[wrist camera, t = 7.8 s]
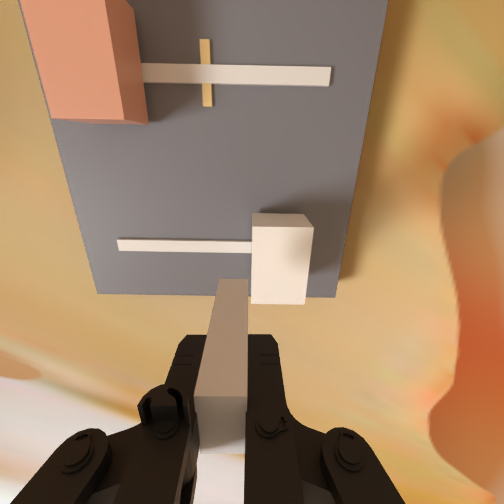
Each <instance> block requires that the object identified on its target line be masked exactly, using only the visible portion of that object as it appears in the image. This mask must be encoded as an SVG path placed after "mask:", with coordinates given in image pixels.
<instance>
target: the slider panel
mask: <svg viewBox="0 0 504 504" xmlns="http://www.w3.org/2000/svg"><path fill="white" fill-rule="evenodd" d="M126 1H127V2H128V4H129V5H130V6H131V7H132V8H133V9H134V15H135V22H136V30H137V38H138V45H139V53H140V60H141V68H142V76H143V83H144V91H145V98H146V106H147V113H148V121H149V125H132V124H89V123H82V122H75V121H68V120H60V119H53V118H51V115H50V111H49V107H48V103H47V100H46V96H45V92H44V89H43V85H42V81H41V77H40V74H39V70H38V66H37V63H36V59H35V55H34V51H33V48H32V44H31V40H30V37H29V33H28V29H27V25H26V22H25V18H24V14H23V11H22V7H21V3H20V0H18V2H19V6H20V10H21V13H22V17H23V21H24V24H25V28H26V32H27V35H28V39H29V43H30V46H31V50H32V54H33V57H34V61H35V65H36V69H37V72H38V76H39V80H40V83H41V87H42V91H43V94H44V98H45V102H46V105H47V109H48V113H49V116H50V120H51V124H52V128H53V131H54V135H55V139H56V142H57V146H58V150H59V153H60V157H61V161H62V164H63V168H64V172H65V175H66V179H67V183H68V187H69V190H70V194H71V198H72V201H73V205H74V209H75V212H76V216H77V220H78V223H79V227H80V231H81V234H82V238H83V242H84V246H85V249H86V253H87V257H88V260H89V264H90V268H91V271H92V275H93V279H94V282H95V286H96V290H97V293H98V294H137V295H200V296H216V293H217V288H218V284H219V279H248V296H251V265H252V213H279V214H304V215H305V216H306V218H307V219H308V220H309V222H310V223H311V224H312V226H313V227H314V232H313V240H312V248H311V256H310V264H309V272H308V281H307V289H306V297H326V298H335V295H336V290H337V284H338V279H339V273H340V268H341V262H342V256H343V251H344V245H345V240H346V234H347V229H348V223H349V217H350V212H351V206H352V201H353V195H354V190H355V184H356V178H357V173H358V167H359V162H360V156H361V151H362V145H363V139H364V134H365V128H366V123H367V117H368V111H369V106H370V100H371V95H372V89H373V84H374V78H375V72H376V67H377V61H378V56H379V50H380V45H381V39H382V33H383V28H384V22H385V17H386V11H387V6H388V0H126Z"/></svg>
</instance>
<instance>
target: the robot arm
mask: <svg viewBox="0 0 504 504" xmlns="http://www.w3.org/2000/svg"><path fill="white" fill-rule="evenodd" d="M137 407H138V411H139V415H140V418H141V423H140V424H138V425H136V426H134V427H132V428H130V429H127V430H124V431H121V432H118V433H114V434H111V435H108V436H106V433H105V432H103V431H102V430H100V429H94V428H89V429H86V430H83V431H79V432H77V433H76V434H74V435H73V436H71V437H69V438H68V439H66V440H65V441H64V442H63V443H62V444H61V445H60V446H59V447H58V448H57V449H56V450H55V451H54V453H53V454H52V455H51V456H50V457H49V458H48V460H47V461H46V462H45V463H44V464H43V466H42V467H41V468H40V469H39V470H38V471H37V473H36V474H35V475H34V476H33V477H32V478H31V480H30V481H29V482H28V483H27V484H26V486H25V487H24V488H23V489H22V490H21V491H20V493H19V494H18V495H17V496H16V497H15V498H14V500H13V501H12V502H11V503H10V504H193V500H194V493H195V487H196V480H197V465H196V464H197V457H198V451H199V449H200V454H245V477H244V504H405V502H404V501H403V499H402V497H401V496H400V494H399V492H398V491H397V489H396V488H395V486H394V484H393V483H392V481H391V479H390V478H389V476H388V475H387V473H386V471H385V470H384V468H383V466H382V465H381V463H380V461H379V460H378V458H377V457H376V455H375V453H374V452H373V450H372V448H371V447H370V446H369V445H368V443H367V442H366V441H365V440H364V438H363V437H361V436H360V435H359V434H357V433H356V432H354V431H353V430H350V429H347V428H344V427H341V428H333V429H331V430H330V431H328V432H327V433H326V434H325V433H322V432H319V431H317V430H314V429H311V428H308V427H306V426H304V425H302V424H301V423H300V422H298V421H297V420H296V419H295V418H294V417H293V416H292V415H291V413H290V411H289V409H288V407H287V404H286V399H285V392H284V385H283V378H282V371H281V365H280V357H279V350H278V343H277V342H276V341H275V339H274V338H273V336H272V335H271V334H248V279H219V284H218V288H217V293H216V297H215V302H214V306H213V311H212V315H211V320H210V324H209V329H208V333H207V335H186V336H185V338H184V339H183V340H182V341H181V342H180V343H179V345H178V348H177V350H176V353H175V357H174V359H173V362H172V366H171V367H170V370H169V373H168V376H167V379H166V382H165V384H163V385H159V386H157V387H155V388H153V389H151V390H150V391H149V392H148V393H147V394H145V395H144V396H143V397H142V399H141V401H140V402H139V404H138V405H137Z"/></svg>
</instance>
